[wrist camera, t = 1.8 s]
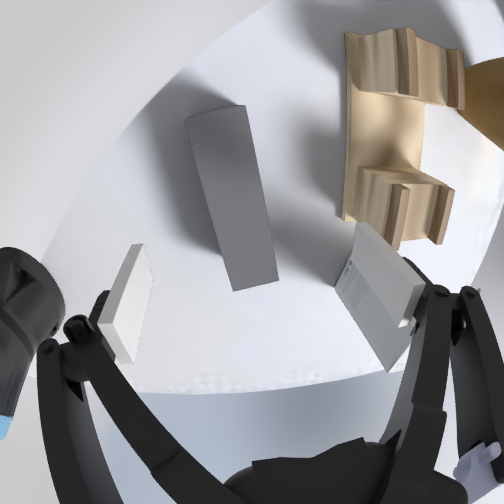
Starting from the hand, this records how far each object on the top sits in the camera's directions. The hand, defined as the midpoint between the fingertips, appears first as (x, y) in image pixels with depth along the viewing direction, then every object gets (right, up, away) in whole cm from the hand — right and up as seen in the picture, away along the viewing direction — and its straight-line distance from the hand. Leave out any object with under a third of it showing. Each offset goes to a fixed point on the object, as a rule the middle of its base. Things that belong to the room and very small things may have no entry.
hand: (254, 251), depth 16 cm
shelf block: (+14, +13, +9) cm, 22 cm away
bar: (-2, +6, +11) cm, 13 cm away
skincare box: (+15, -3, +19) cm, 24 cm away
